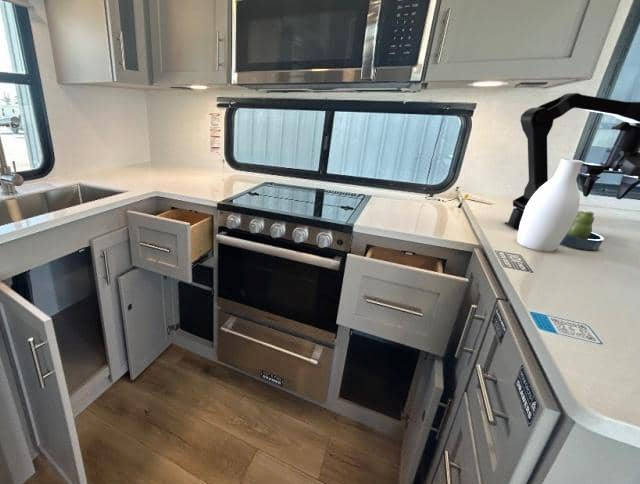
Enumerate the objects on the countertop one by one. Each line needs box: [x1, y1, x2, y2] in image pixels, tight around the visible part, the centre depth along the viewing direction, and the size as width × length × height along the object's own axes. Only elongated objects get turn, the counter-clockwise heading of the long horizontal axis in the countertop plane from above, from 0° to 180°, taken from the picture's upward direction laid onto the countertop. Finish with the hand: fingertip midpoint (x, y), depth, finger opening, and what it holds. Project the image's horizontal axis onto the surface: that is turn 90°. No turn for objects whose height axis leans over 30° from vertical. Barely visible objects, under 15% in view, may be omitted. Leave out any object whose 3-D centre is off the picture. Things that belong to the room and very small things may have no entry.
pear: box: [567, 210, 595, 239], centre depth 100 cm, size 6×5×10 cm
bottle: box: [516, 158, 585, 253], centre depth 94 cm, size 11×11×25 cm
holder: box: [559, 231, 605, 251], centre depth 101 cm, size 11×11×4 cm
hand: (601, 197), depth 104 cm, fingers open, 9 cm apart
